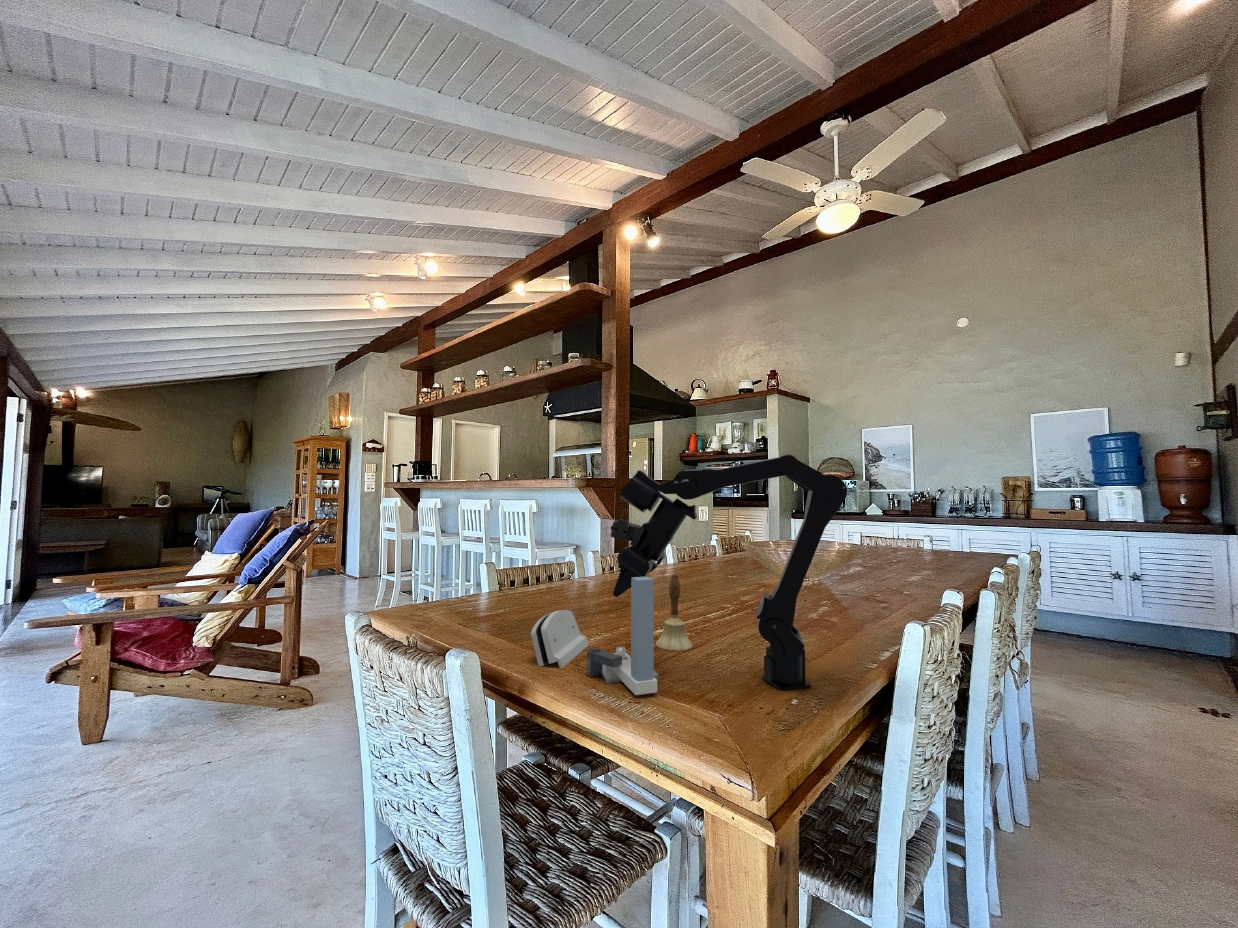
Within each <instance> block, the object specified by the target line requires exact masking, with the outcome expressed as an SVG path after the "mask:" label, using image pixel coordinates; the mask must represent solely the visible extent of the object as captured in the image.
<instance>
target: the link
mask: <svg viewBox="0 0 1238 928" xmlns="http://www.w3.org/2000/svg"><path fill="white" fill-rule="evenodd" d="M654 583H655V579H654V578H651V577H649V576H646V577H631V588H630V591H631V592H630V593H631V594H630V596H631V597H630V600H631V601H630V603H631V605H630V607H631V608H630V609H631V610H630V624H631V626H630V637H631V638H630V655H629V654H628V653H627V652H626V651H625V660H622V665H620V666H617V667H614V668H612V667H609V666H608V667H609V668H610V669H611V670H612V671H613V672H614V673H615V674H616V675H617V676H618V677H619V678H620V680H621V681H622V683H624V685H625V686H626V687H627V688H628V690H630V691H631V693H633V695H635V696H641V695H647V694H654V693H658V680H657V679H655V678H654V671H655V669H654V667H655V665H654V655H655V654H654V649H655V648H654V647H655V644H654V643H655V642H654V640H655V639H654V636H655V635H654V633H655V632H654V630H655V629H654V628H655V627H654V620H655V619H654V617H655V613H654V609H655V608H654V607H655V603H654V602H655V601H654V599H655V594H654V592H655V591H654V590H655V586H654V585H655V584H654ZM612 653H613V652H612ZM613 654H616V652H614V653H613Z"/></svg>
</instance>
